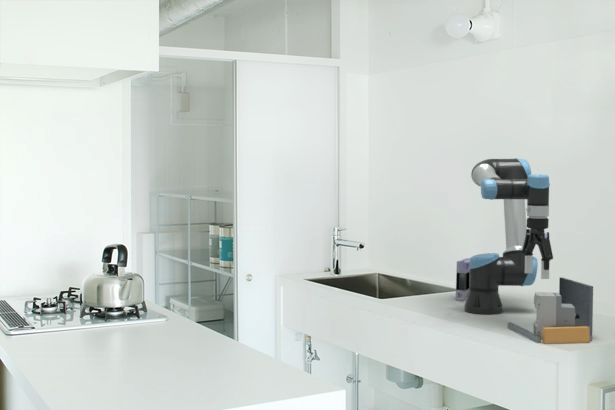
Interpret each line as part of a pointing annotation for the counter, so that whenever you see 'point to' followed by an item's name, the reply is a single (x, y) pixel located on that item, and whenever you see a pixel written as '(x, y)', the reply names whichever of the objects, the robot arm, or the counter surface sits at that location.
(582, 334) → the orange rectangular bar
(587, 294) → the dark grey piece
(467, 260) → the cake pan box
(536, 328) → the circuit breaker
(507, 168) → the robot arm
